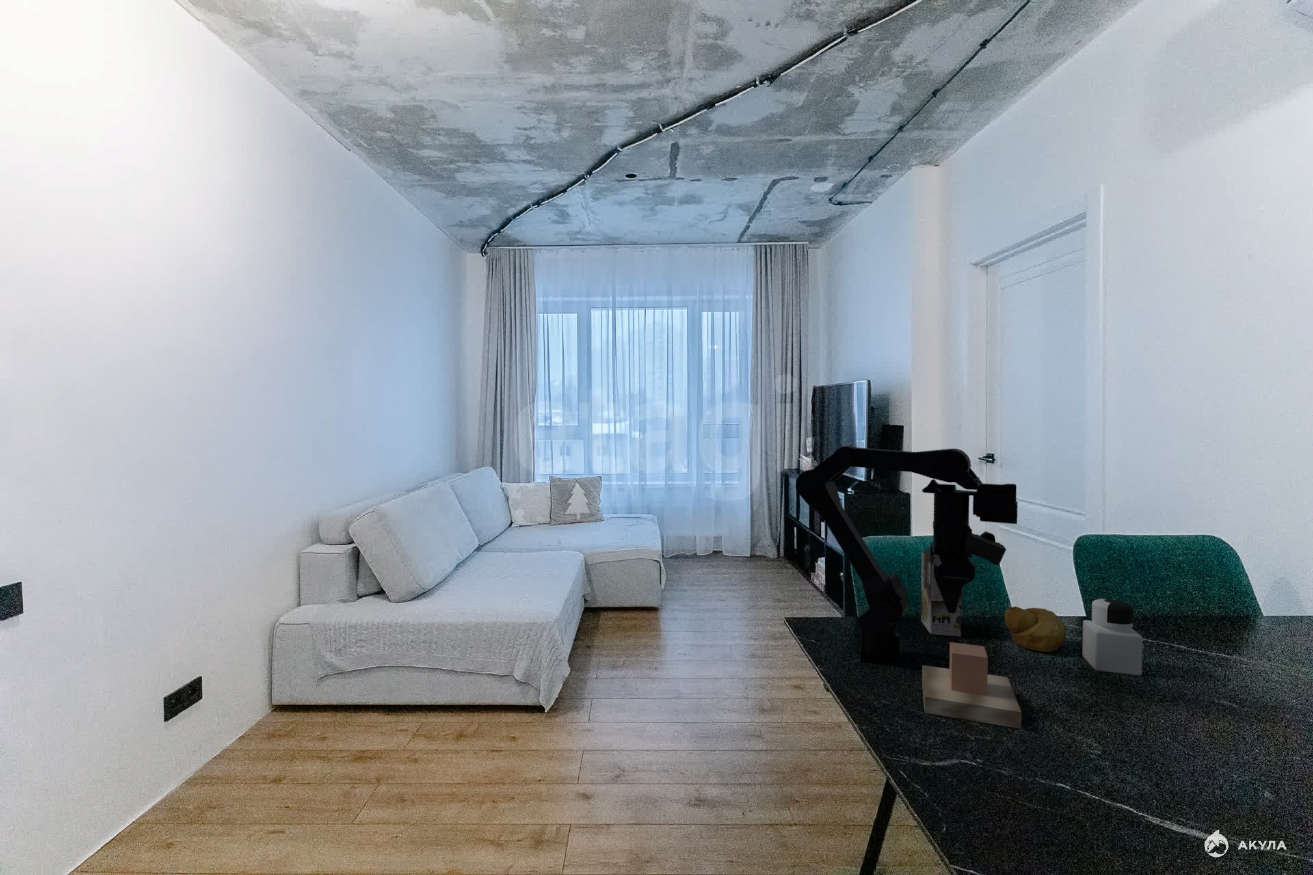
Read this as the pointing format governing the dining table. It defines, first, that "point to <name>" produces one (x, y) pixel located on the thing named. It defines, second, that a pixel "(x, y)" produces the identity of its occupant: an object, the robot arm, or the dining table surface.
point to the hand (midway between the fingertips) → (949, 605)
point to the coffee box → (937, 604)
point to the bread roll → (1035, 628)
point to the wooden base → (970, 699)
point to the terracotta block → (968, 668)
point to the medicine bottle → (1112, 638)
